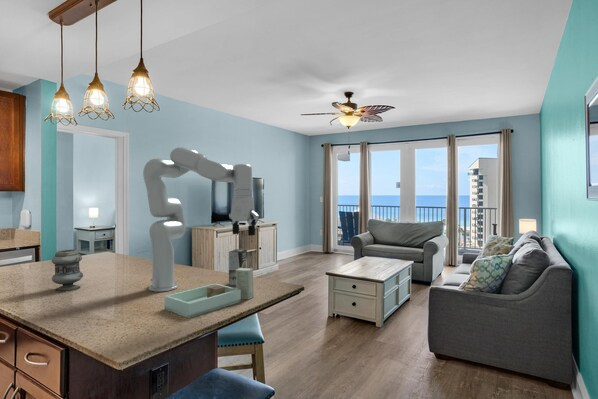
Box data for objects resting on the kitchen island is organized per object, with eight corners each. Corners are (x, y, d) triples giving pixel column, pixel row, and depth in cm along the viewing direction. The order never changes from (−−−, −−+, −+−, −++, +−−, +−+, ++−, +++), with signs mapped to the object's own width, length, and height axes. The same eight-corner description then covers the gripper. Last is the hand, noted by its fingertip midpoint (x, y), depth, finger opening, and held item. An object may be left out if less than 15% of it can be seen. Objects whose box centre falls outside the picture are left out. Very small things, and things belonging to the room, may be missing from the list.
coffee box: (241, 285, 169) (240, 252, 169) (228, 285, 170) (228, 251, 170) (247, 281, 178) (247, 249, 178) (235, 280, 179) (235, 248, 179)
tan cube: (207, 299, 143) (207, 287, 143) (217, 296, 147) (217, 284, 147) (215, 301, 140) (214, 289, 140) (225, 298, 144) (224, 286, 144)
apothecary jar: (48, 289, 164) (48, 250, 163) (78, 284, 172) (78, 247, 172) (55, 294, 155) (55, 253, 155) (86, 288, 164) (86, 250, 164)
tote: (164, 309, 135) (164, 295, 135) (215, 295, 153) (215, 283, 153) (189, 318, 125) (189, 303, 125) (240, 301, 143) (240, 289, 143)
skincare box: (253, 297, 150) (253, 268, 150) (249, 299, 146) (248, 270, 146) (240, 295, 152) (240, 267, 152) (235, 298, 148) (235, 269, 148)
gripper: (222, 194, 151) (223, 234, 151) (250, 193, 140) (251, 236, 140) (236, 194, 157) (236, 232, 157) (264, 193, 146) (264, 235, 146)
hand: (243, 234), depth 149 cm, fingers open, 9 cm apart
